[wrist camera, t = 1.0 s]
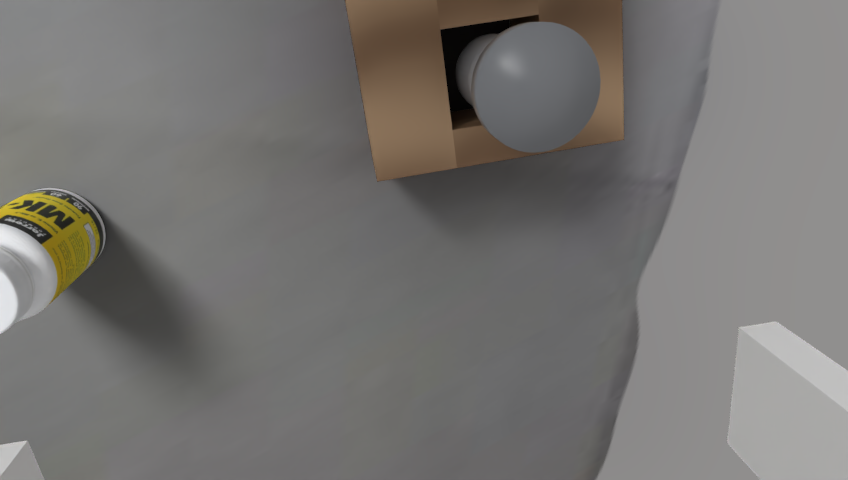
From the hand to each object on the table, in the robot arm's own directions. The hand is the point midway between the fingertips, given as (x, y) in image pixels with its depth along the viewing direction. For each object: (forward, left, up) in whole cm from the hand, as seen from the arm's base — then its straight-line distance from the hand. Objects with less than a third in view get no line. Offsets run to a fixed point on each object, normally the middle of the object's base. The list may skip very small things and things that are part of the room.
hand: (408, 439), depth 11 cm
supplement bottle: (+1, -17, -23) cm, 28 cm away
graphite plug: (-4, +6, -18) cm, 20 cm away
